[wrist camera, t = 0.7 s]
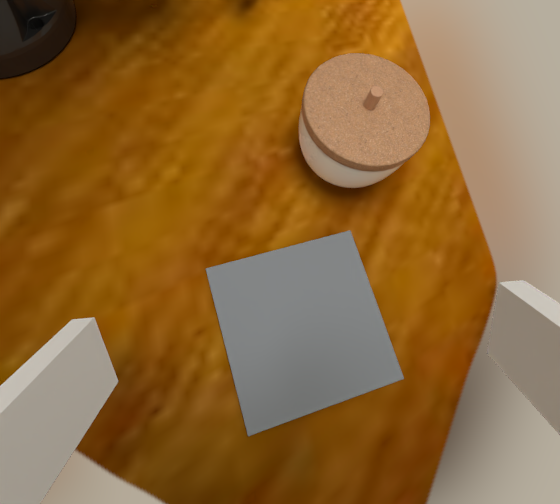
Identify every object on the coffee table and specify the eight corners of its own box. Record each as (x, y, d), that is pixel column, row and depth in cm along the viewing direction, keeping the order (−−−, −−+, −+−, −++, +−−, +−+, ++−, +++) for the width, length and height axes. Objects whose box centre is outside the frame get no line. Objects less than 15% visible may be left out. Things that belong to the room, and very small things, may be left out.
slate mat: (206, 270, 29) (205, 268, 28) (348, 232, 31) (350, 230, 30) (248, 434, 26) (248, 436, 25) (400, 377, 28) (404, 378, 28)
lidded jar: (325, 223, 31) (360, 177, 22) (270, 137, 33) (280, 62, 24) (408, 176, 34) (470, 119, 25) (352, 98, 35) (391, 17, 26)
